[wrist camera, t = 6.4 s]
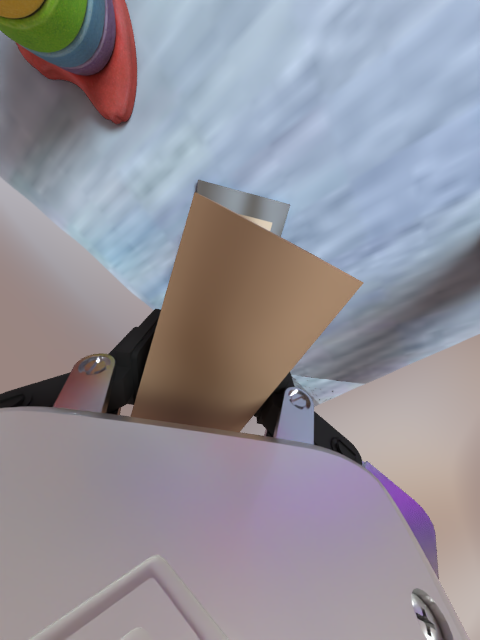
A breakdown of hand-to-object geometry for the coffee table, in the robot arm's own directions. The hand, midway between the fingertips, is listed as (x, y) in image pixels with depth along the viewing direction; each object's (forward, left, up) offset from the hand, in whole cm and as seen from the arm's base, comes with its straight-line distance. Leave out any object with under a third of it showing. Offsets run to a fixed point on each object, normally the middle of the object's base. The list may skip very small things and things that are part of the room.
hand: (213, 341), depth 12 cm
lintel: (0, 0, -1) cm, 1 cm away
